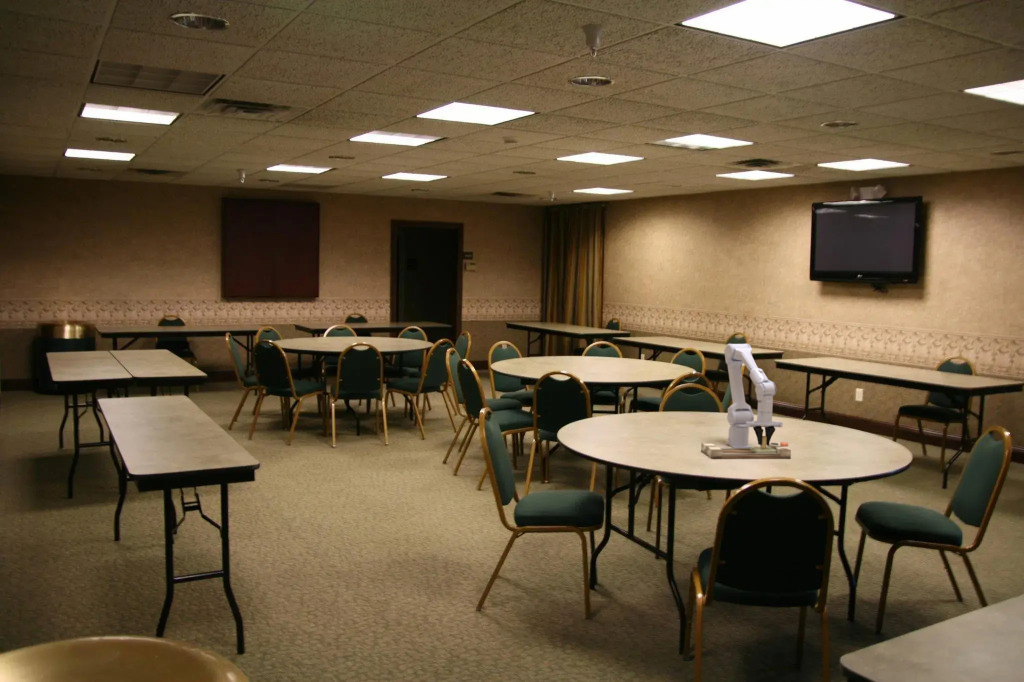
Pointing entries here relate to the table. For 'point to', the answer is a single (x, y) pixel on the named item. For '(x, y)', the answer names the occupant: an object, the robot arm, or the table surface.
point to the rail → (744, 452)
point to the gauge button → (784, 444)
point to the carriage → (763, 447)
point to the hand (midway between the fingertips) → (763, 444)
